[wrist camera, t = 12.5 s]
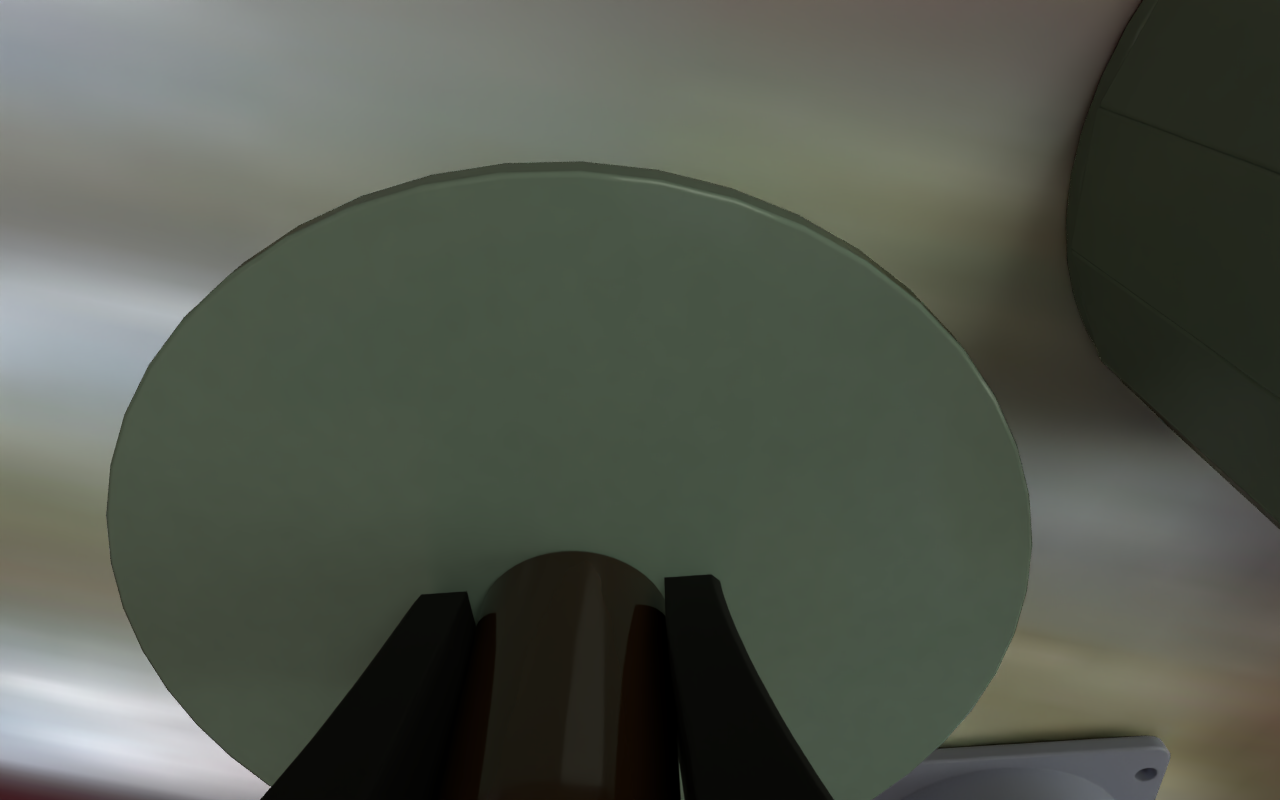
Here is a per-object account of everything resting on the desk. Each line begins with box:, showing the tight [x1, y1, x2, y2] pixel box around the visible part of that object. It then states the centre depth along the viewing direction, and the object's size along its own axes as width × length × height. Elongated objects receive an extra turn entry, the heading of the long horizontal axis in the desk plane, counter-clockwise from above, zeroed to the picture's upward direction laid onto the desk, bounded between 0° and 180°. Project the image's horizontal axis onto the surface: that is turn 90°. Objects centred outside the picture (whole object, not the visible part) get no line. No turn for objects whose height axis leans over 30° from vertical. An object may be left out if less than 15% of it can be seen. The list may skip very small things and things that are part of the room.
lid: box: [106, 161, 1032, 800], centre depth 10 cm, size 12×12×6 cm
